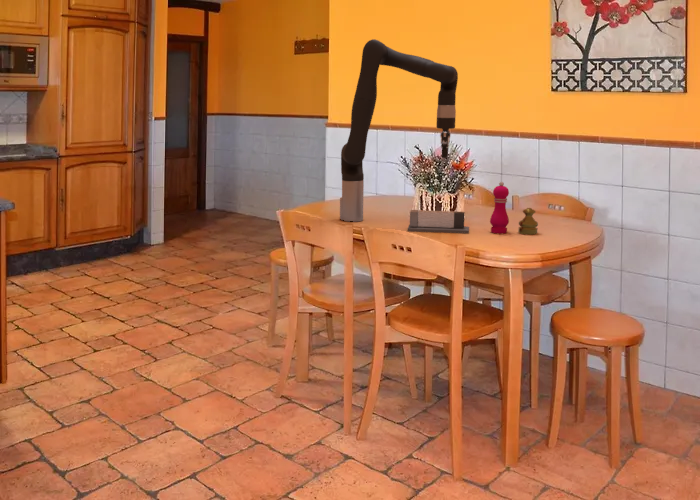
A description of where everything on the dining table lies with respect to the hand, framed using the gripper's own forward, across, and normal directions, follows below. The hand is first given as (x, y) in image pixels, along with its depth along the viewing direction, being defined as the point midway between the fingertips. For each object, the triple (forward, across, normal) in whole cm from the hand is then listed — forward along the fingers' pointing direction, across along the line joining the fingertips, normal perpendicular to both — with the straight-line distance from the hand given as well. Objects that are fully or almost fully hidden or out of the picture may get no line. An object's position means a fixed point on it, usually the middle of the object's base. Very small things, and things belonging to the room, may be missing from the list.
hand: (444, 156), depth 286 cm
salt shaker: (+28, -12, -34) cm, 46 cm away
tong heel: (+26, -14, +11) cm, 32 cm away
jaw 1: (+26, -13, 0) cm, 29 cm away
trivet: (+28, -14, +1) cm, 31 cm away
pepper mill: (+28, -13, -23) cm, 38 cm away
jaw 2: (+26, -15, 0) cm, 30 cm away
